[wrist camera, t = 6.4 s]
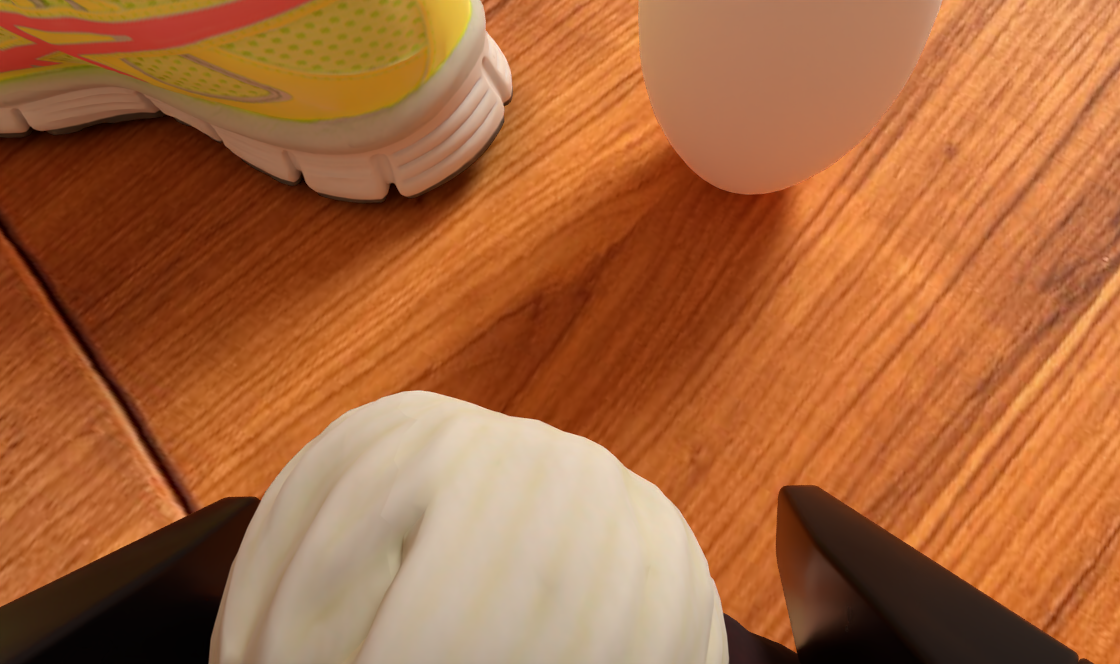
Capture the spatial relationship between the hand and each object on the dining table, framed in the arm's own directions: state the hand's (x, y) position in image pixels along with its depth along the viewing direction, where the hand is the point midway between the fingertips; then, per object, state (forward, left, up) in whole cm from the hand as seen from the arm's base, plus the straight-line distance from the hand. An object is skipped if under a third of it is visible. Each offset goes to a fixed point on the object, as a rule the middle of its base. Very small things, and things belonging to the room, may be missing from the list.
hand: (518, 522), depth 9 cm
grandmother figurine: (-1, 0, -7) cm, 7 cm away
